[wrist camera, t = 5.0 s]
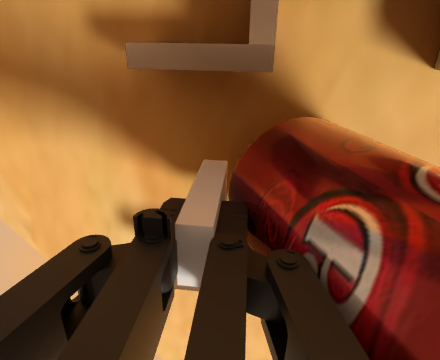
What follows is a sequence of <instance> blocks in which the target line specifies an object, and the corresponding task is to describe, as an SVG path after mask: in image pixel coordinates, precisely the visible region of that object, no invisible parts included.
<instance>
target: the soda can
mask: <svg viewBox="0 0 440 360" xmlns="http://www.w3.org/2000/svg"><path fill="white" fill-rule="evenodd" d="M229 201H236V202H244V203H245V205H246V206H247V207H248V220H247V240H248V241H249V243H250V244H251V246H252V247H253V249H254V250H255V252H257V253H260V254H262V255H265V256H268V255H269V254H270V253H271V252H273V251H274V250H279V249H289V250H292V251H296V252H298V253H300V254H301V255H303V256H304V257H305V258H306V259H307V260H308V262H309V264H310V265H311V267H312V268H313V270H314V272H315V273H316V275H317V276H318V278H319V280H320V281H321V283H322V284H323V286H324V288H325V289H326V291H327V292H328V294H329V295H330V297H331V299H332V300H333V302H334V303H335V305H336V307H337V308H338V310H339V311H340V313H341V315H342V316H343V318H344V319H345V321H346V323H347V324H348V326H349V327H350V329H351V330H352V332H353V334H354V335H355V337H356V338H357V340H358V342H359V343H360V345H361V346H362V348H363V350H364V351H365V353H366V354H367V356H368V358H369V359H370V360H440V168H439V167H437V166H434V165H432V164H430V163H427V162H425V161H422V160H420V159H418V158H415V157H413V156H411V155H408V154H406V153H403V152H401V151H399V150H396V149H394V148H392V147H389V146H387V145H384V144H382V143H380V142H377V141H375V140H373V139H370V138H368V137H365V136H363V135H361V134H358V133H356V132H354V131H351V130H349V129H346V128H344V127H342V126H339V125H337V124H334V123H332V122H330V121H327V120H324V119H320V118H316V117H298V118H293V119H289V120H286V121H283V122H281V123H279V124H276V125H274V126H272V127H271V128H269V129H268V130H266V131H265V132H263V133H262V134H260V135H259V136H258V137H257V138H256V139H255V140H254V141H253V142H252V143H251V144H250V145H249V146H248V148H247V149H246V150H245V152H244V153H243V154H242V156H241V157H240V159H239V161H238V163H237V165H236V167H235V169H234V172H233V175H232V178H231V182H230V189H229Z"/></svg>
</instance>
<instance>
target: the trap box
mask: <svg viewBox="0 0 440 360" xmlns="http://www.w3.org/2000/svg"><path fill="white" fill-rule="evenodd" d="M278 1H279V0H251V9H250V30H249V44H221V43H154V42H125V47H126V56H127V65H128V69H164V70H204V71H245V72H273V62H274V49H275V37H276V25H277V13H278ZM434 69H437V70H440V51H439V54H438V57H437V61H436V64H435V68H434ZM247 243H248V245H249V247H250V248H251V249H252V250H254V249H253V247H252V246H251V244H250V243H249V241H248V240H247ZM254 251H255V250H254ZM174 289H182V290H192V291H199V290H200V287H192V286H182V285H177V277H176V280H175V283H174Z"/></svg>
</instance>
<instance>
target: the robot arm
mask: <svg viewBox="0 0 440 360" xmlns="http://www.w3.org/2000/svg"><path fill="white" fill-rule="evenodd" d="M227 175H228V161H223V160H206V159H204V160H203V162H202V164H201V167H200V169H199V171H198V173H197V176H196V178H195V180H194V182H193V185H192V187H191V189H190V191H189V193H188V196H187V198H186V199H182V198H170V199H168V200H167V201H165V202H164V203H163V205H162V206H161V208H160V209H146V210H142V211H140V212H138V213H136V214H135V215H134V216H133V220H134V230H135V237H134V239H133V241H132V242H131V243H126V244H120V245H111V241H110V240H109V238H108V237H106V236H104V235H89V236H86V237H83V238H80V239H78V240H77V241H75V242H73V243H72V244H71V245H69V246H68V247H67V248H65V249H64V250H62V251H61V252H60V253H58V254H57V255H56V256H54V257H53V258H51V259H50V260H49V261H47V262H46V263H45V264H43V265H42V266H40V267H39V268H38V269H36V270H35V271H34V272H32V273H31V274H29V275H28V276H27V277H25V278H24V279H23V280H21V281H20V282H18V283H17V284H16V285H14V286H13V287H12V288H10V289H9V290H7V291H6V292H5V293H3V294H2V295H1V296H0V360H153V359H154V356H155V353H156V350H157V347H158V344H159V341H160V338H161V334H162V331H163V328H164V325H165V322H166V319H167V316H168V313H169V310H170V307H171V304H172V301H173V298H174V283H175V280H176V277H177V285H182V286H192V287H200V290H199V295H198V299H197V304H196V308H195V313H194V318H193V322H192V327H191V332H190V336H189V341H188V345H187V350H186V355H185V359H184V360H245V342H246V313H249V314H252V315H254V316H257V317H259V318H261V324H262V327H263V330H264V333H265V336H266V340H267V343H268V346H269V349H270V352H271V355H272V358H273V360H370V359H369V358H368V356H367V354H366V353H365V351H364V350H363V348H362V346H361V345H360V343H359V342H358V340H357V338H356V337H355V335H354V334H353V332H352V330H351V329H350V327H349V326H348V324H347V323H346V321H345V319H344V318H343V316H342V315H341V313H340V311H339V310H338V308H337V307H336V305H335V303H334V302H333V300H332V299H331V297H330V295H329V294H328V292H327V291H326V289H325V288H324V286H323V284H322V283H321V281H320V280H319V278H318V276H317V275H316V273H315V272H314V270H313V268H312V267H311V265H310V264H309V262H308V260H307V259H306V258H305V257H304V256H303V255H301V254H300V253H298V252H296V251H292V250H289V249H279V250H274V251H273V252H271V253H270V254H269V255H268V256H265V255H262V254H260V253H257V252H255V251H254V250H252V249H251V248H250V247H249V245H248V243H247V220H248V207H247V206H246V205H245V203H244V202H236V201H227ZM77 290H78V294H79V295H78V296H77V297H76V298H74V299H73V300H71V299H70V297H71V296H72V295H73V294H74V293H75V292H76V291H77Z"/></svg>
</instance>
